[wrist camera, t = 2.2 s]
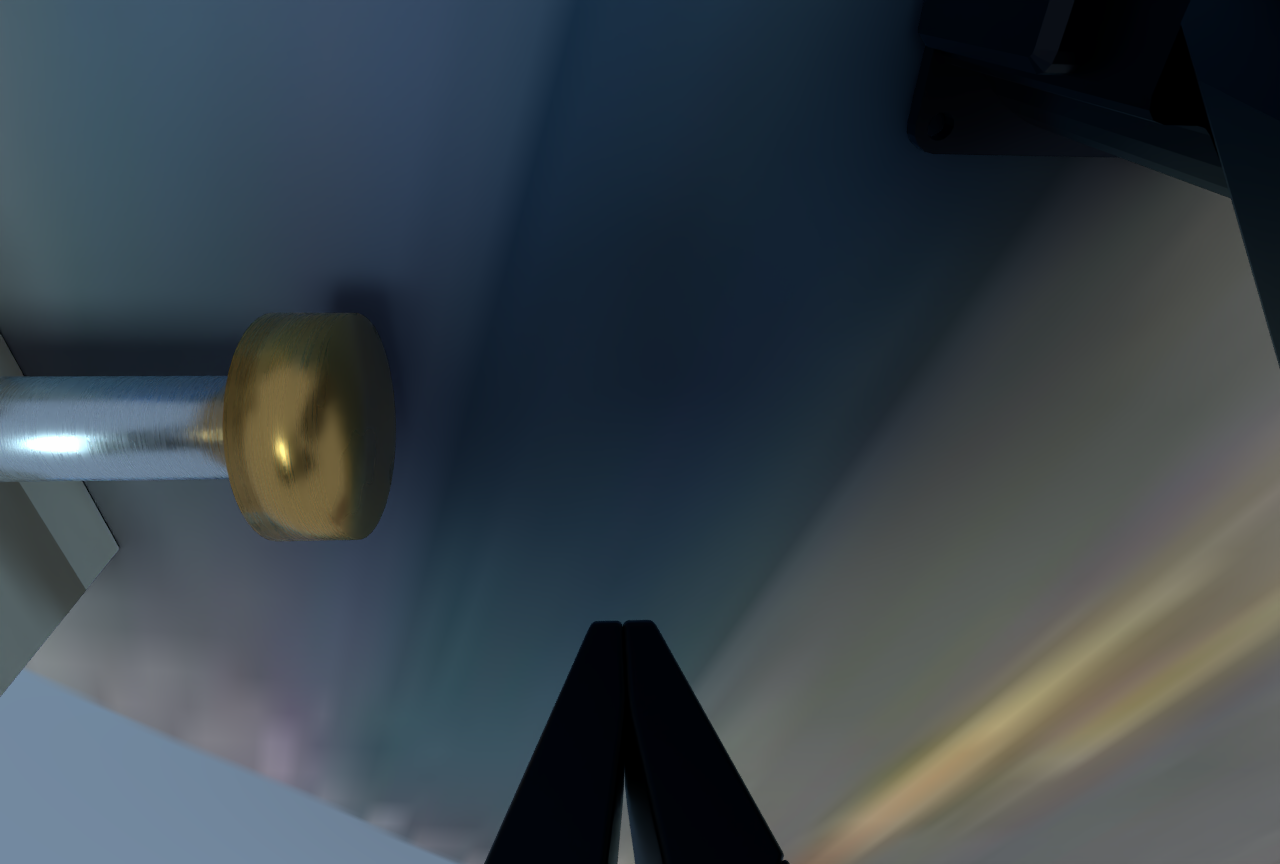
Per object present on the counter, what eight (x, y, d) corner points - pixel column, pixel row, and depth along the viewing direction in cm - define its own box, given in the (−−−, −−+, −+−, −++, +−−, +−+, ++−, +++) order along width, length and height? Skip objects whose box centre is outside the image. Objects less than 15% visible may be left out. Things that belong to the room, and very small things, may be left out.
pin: (371, 277, 14) (293, 387, 10) (406, 451, 16) (354, 588, 13) (-237, 273, 13) (-550, 390, 10) (-103, 455, 16) (-311, 604, 12)
